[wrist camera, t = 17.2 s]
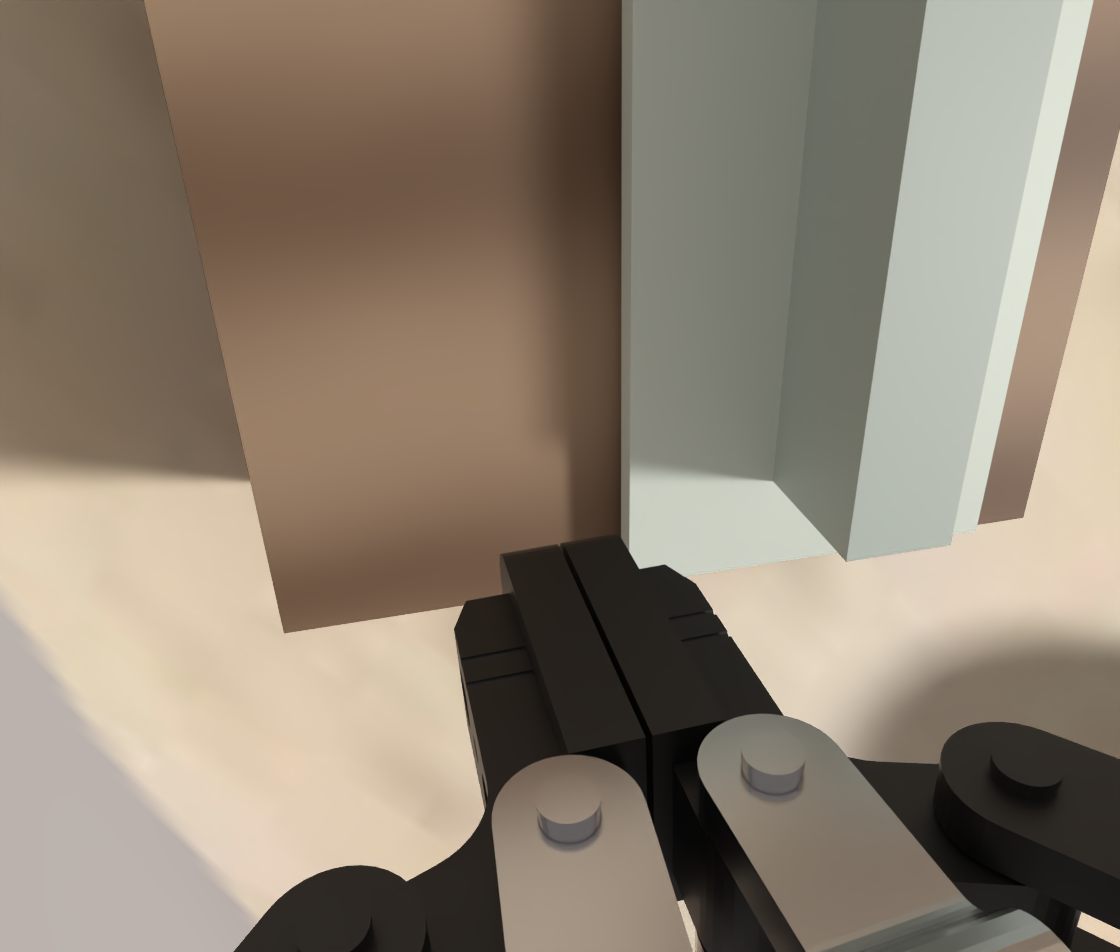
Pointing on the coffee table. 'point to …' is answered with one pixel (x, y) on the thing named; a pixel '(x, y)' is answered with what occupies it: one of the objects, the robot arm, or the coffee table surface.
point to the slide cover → (826, 265)
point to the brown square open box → (468, 278)
